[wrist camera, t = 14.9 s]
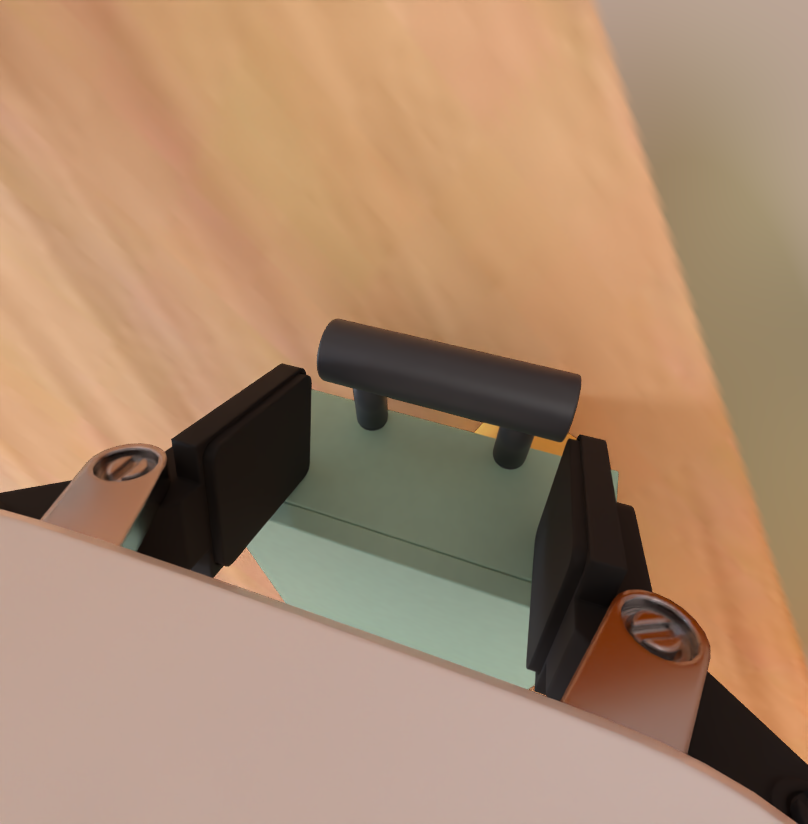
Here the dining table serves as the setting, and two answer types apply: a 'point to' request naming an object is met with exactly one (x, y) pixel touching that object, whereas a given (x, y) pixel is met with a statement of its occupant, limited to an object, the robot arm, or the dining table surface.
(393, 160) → the dining table surface
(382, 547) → the box
